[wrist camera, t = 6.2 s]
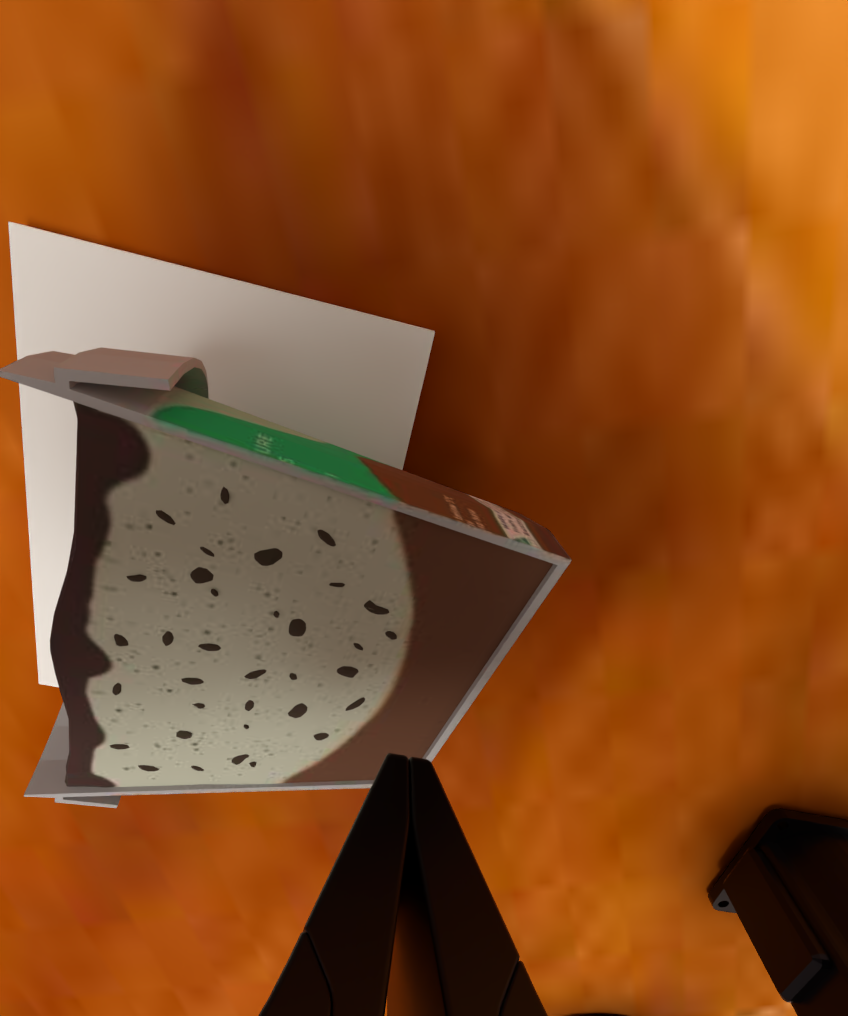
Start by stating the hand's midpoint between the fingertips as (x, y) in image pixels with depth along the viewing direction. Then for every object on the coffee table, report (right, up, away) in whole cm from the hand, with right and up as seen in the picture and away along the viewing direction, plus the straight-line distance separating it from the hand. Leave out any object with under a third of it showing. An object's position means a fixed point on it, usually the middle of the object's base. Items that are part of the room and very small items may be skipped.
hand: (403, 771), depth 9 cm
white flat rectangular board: (-6, +4, +7) cm, 10 cm away
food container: (+2, +2, +6) cm, 6 cm away
